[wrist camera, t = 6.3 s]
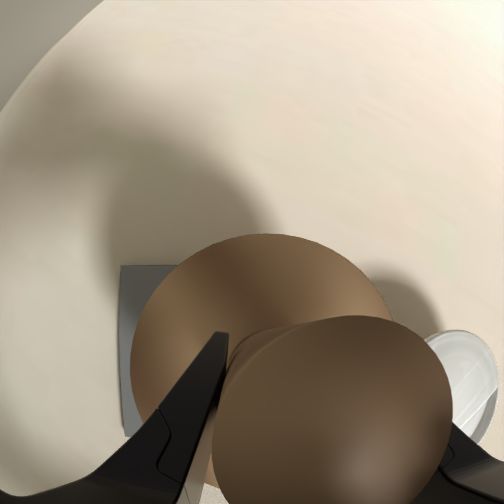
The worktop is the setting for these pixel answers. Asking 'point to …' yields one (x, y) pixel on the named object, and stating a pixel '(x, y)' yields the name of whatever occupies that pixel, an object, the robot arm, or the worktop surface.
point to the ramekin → (468, 379)
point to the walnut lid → (298, 375)
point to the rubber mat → (134, 327)
